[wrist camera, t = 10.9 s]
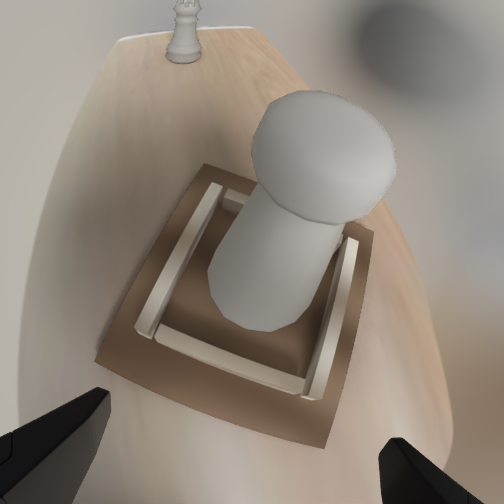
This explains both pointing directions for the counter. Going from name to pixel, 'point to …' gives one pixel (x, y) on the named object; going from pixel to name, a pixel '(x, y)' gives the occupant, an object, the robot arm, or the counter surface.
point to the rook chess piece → (185, 34)
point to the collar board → (236, 326)
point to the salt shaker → (298, 206)
